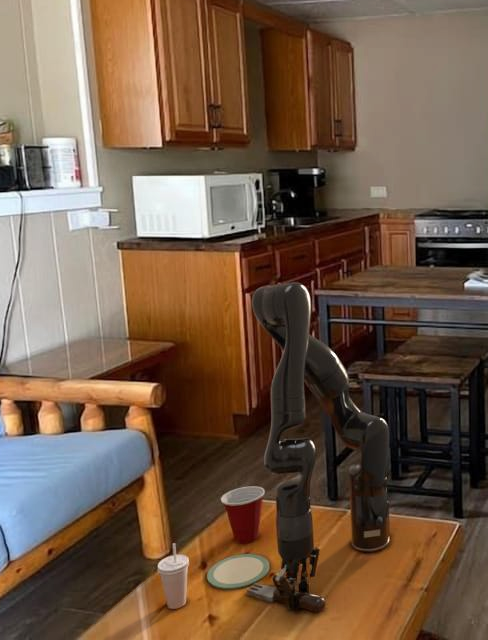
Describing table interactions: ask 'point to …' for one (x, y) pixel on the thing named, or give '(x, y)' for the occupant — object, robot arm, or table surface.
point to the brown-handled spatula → (272, 593)
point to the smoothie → (174, 578)
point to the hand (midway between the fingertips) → (299, 604)
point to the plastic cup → (244, 512)
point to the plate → (238, 571)
